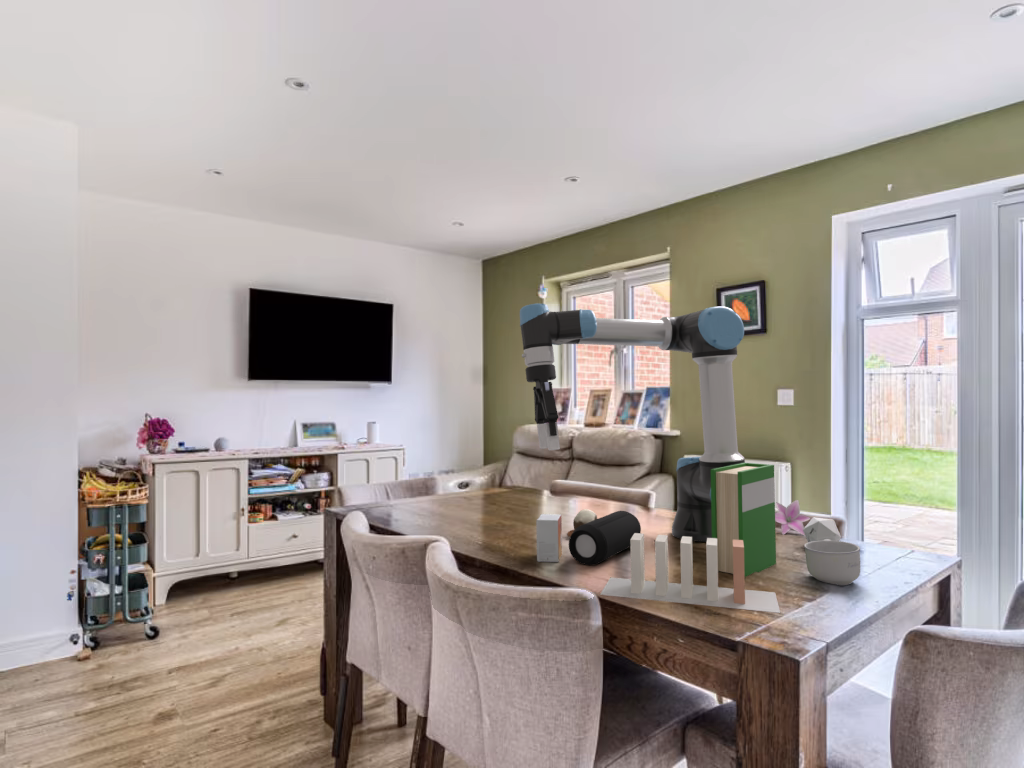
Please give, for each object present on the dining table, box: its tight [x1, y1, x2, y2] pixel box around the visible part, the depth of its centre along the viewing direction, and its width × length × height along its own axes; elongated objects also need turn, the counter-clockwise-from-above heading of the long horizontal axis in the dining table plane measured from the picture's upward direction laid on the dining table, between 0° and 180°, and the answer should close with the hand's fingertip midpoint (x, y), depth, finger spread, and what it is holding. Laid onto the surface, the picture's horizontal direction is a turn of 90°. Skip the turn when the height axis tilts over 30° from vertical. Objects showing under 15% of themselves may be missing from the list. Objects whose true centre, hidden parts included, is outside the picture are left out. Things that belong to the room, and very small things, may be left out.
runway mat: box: [599, 577, 781, 614], centre depth 122 cm, size 34×12×1 cm, turn 70°
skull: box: [566, 508, 598, 538], centre depth 177 cm, size 12×10×10 cm
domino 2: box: [654, 534, 670, 596], centre depth 124 cm, size 2×6×11 cm, turn 160°
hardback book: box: [711, 462, 777, 578], centre depth 141 cm, size 18×7×24 cm, turn 134°
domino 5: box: [732, 540, 746, 604], centre depth 119 cm, size 2×6×11 cm, turn 160°
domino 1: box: [630, 532, 646, 594], centre depth 126 cm, size 2×6×11 cm, turn 160°
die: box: [803, 516, 842, 543], centre depth 158 cm, size 8×9×10 cm
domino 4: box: [705, 538, 719, 601], centre depth 121 cm, size 2×6×11 cm, turn 160°
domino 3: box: [679, 536, 694, 599], centre depth 122 cm, size 2×6×11 cm, turn 160°
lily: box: [775, 499, 811, 536], centre depth 177 cm, size 11×11×9 cm
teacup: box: [803, 539, 861, 586], centre depth 132 cm, size 14×11×8 cm
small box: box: [535, 513, 563, 563], centre depth 152 cm, size 8×6×10 cm
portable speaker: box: [568, 510, 642, 566], centre depth 154 cm, size 26×10×10 cm, turn 145°
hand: (549, 449), depth 149 cm, fingers open, 13 cm apart
